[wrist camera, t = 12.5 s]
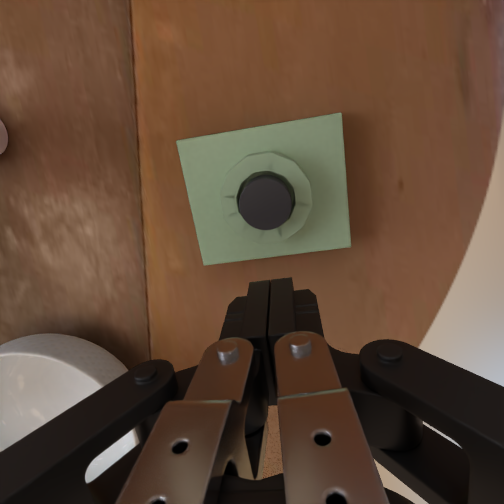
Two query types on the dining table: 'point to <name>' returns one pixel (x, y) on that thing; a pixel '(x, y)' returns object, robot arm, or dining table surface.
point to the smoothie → (3, 137)
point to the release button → (265, 202)
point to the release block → (276, 164)
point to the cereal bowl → (54, 387)
